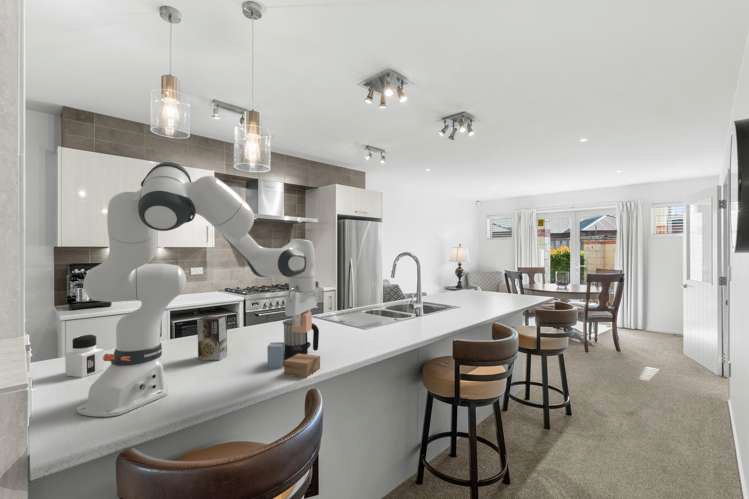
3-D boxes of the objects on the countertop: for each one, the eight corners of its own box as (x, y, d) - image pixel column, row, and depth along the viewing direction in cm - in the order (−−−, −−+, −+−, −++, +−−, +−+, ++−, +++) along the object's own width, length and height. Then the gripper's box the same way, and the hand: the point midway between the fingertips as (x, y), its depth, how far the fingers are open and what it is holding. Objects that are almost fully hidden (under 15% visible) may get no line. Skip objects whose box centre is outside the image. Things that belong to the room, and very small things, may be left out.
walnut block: (307, 378, 123) (307, 363, 123) (284, 375, 127) (284, 360, 126) (320, 369, 132) (320, 355, 132) (298, 366, 135) (298, 353, 135)
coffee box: (227, 355, 148) (227, 315, 148) (219, 360, 142) (219, 318, 141) (206, 354, 149) (205, 315, 149) (197, 360, 143) (196, 318, 142)
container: (104, 370, 131) (103, 334, 131) (81, 378, 124) (81, 339, 123) (88, 368, 133) (87, 332, 133) (65, 375, 126) (64, 338, 126)
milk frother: (288, 364, 138) (288, 324, 137) (273, 353, 150) (273, 317, 150) (322, 357, 146) (322, 319, 146) (305, 347, 159) (305, 313, 158)
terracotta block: (306, 332, 126) (306, 315, 126) (292, 331, 127) (292, 314, 127) (311, 329, 131) (311, 312, 130) (298, 328, 132) (298, 311, 132)
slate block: (281, 368, 133) (281, 346, 133) (267, 368, 133) (267, 346, 133) (284, 363, 138) (284, 342, 138) (270, 363, 138) (270, 342, 138)
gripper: (298, 288, 118) (298, 331, 118) (320, 282, 138) (320, 318, 138) (280, 288, 119) (280, 330, 119) (304, 281, 139) (305, 318, 139)
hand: (302, 324), depth 129 cm, fingers closed on terracotta block, 5 cm apart
